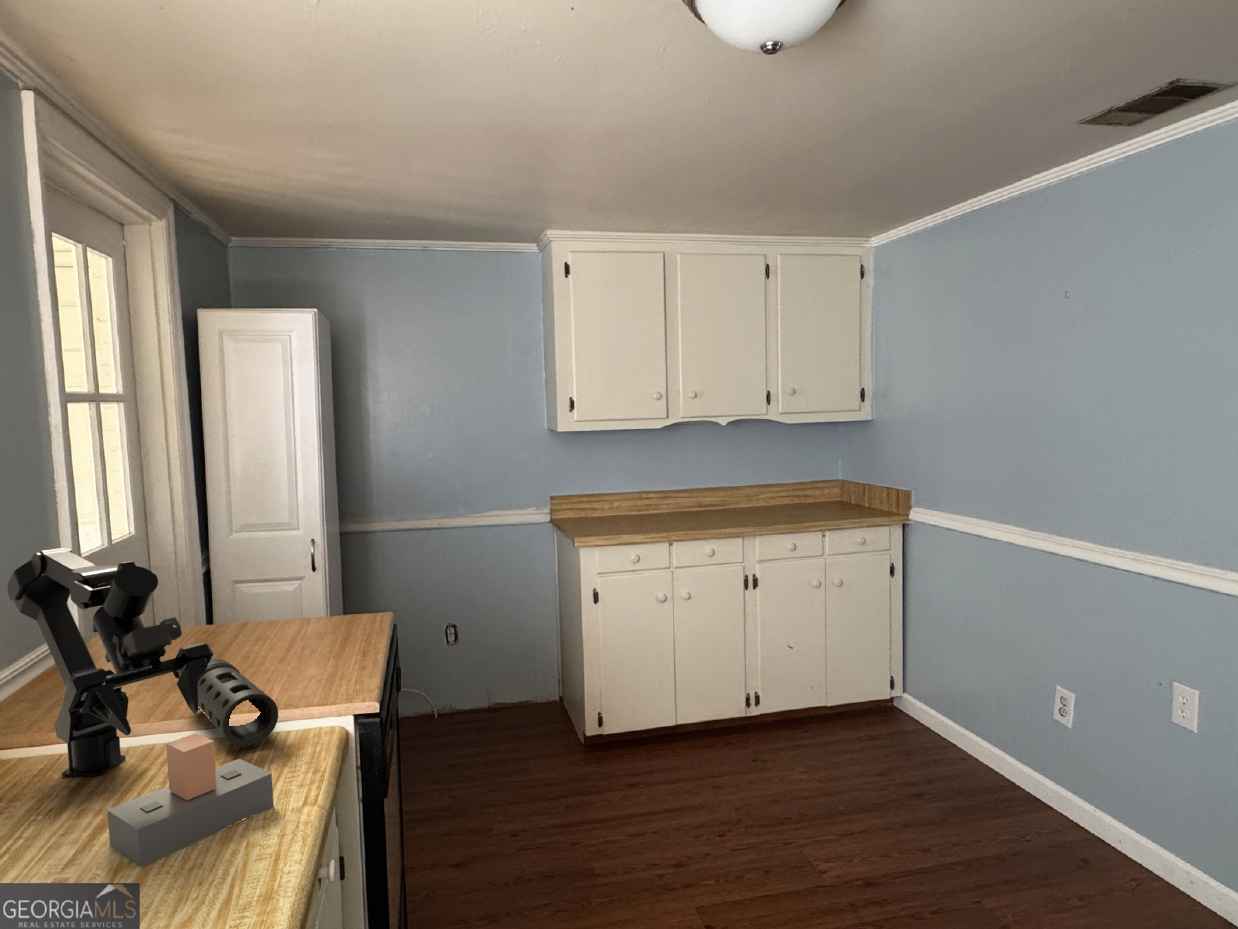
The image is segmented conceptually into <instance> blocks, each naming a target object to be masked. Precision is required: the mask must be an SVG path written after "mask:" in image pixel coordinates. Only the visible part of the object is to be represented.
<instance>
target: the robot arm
mask: <svg viewBox="0 0 1238 929" xmlns="http://www.w3.org/2000/svg"><path fill="white" fill-rule="evenodd" d="M158 585H159V579H158V576H157V575H156V573H154V572H153V571H151V570H150V569H148V568H145V567H143V566H137V565H136V563H135V561H133V560H131V561H130V560H129V561H124V562H123V561H122V562H118V565H114V564H113V565H110V564H109V565H96V564H94V563H93V562H90V561H88V560H86V559H85V558H83V557H81V556H79V555H77V554H75V553H74V552H73V551H72V549H71V548H66V547H58V548H52V549H45V550H44V549H43V550H39V551H38V552H35V553H33V555H32V557H31V559H30V560H28V561H27V562H26V563H24V564H22V565H20V566H19V567H17V568H16V569H14V571H13V572H12V574H11V576H10V579H9V580H8V582H7V594H8V597H9V599H10V600H11V601H12V602H14V604H15V606H16V608H17V609H18V611H19V613H21V614H23V615H25V616H27V617H29V618H30V619H32V620H34V621H36V623H37V624H38V627H39V629H40V631H41V633H42V635H43V638H44V640H45V643H46V645H47V647H48V649H49V652H50V655H51V656H52V659H53V661H54V663H55V665H56V668H57V670H58V672H59V674H60V677H61V678H62V680H63V684H64V686H65V691H64V694H63V697H62V701H61V704H60V708H61V709H60V710H59V714H58V715H57V717H56V719H55V722H54V730H55V733H56V735H55V736H56V738H58V739H60V740H62V741H64V742H65V743H66V744H67V747H66V748H67V758H68V759H67V760H68V768H67V769H65V770H63V771H62V772H61V776H63V777H81V776H82V777H83V776H84V777H89V776H90V777H93V776H94V777H95V776H96V777H98V776H101V775H103V774H104V773H106V772H107V771H109V770H110V769H112V768H114V767H115V766H116V765H118V764H119V763H121V762H123V760H125V759H126V755H124V754H121V744H120V743H121V742H120V740H121V739H120V736H119V735H118V731H119V732H120V733H122V735H125V736H129V735H130V734H132V729H131V727H130V723H129V720H128V719H127V718H128V711H129V710H128V709H129V708H128V707H129V697H128V695H127V693H126V692H125V690H124V689H122V687H123V686H128V685H130V684H134V683H137V682H141V681H145V680H149V679H153V678H156V677H160V676H163V675H166V674H171V673H173V676H174V678H175V679H178V680H177V682H176V686H177V687H178V690H179V692H180V694H181V695H182V697H183V698H184V699H183V700H184V701H185V703H186V704H187V707H188V708H189V710H190V711H191V712H192V713H193V714H197V713H198V712H199V710H198V709H199V708H198V677H199V676H200V674H202V673H204V671H205V669H206V667H207V665H208V664H209V662H210V660H211V659H213V657H214V652H213V649H212V648H211V645H209V644H208V643H206V642H198V643H194V644H190V645H186V646H183V647H180V648H179V650H178V652H177V654H176V655H175V657H174V658H171V659H167V660H163V661H161V660H162V659H161V658H162V657H165V654H166V653H167V650H166V649H165V648H166V647H167V646H170V645H172V644H173V642H172V641H175V640H178V639H179V638H180V637H182V634H183V631H182V628H181V625H180V623H179V621H178V619H177V617H176V616H173V617H169V618H164V619H162V621H159V624H155V625H150V626H145V623H144V622H143V620H142V617H141V616H142V615H143V614H144V613H145V612H146V611H147V609H148V608H149V606H150V605H149V604H150V603H151V600H152V598H153V596H154V594H155V592H156V590H157V588H158ZM69 598H70V600H71V601H72V603H73V604H74V605H75V606H77V608H79V609H80V610H82V611H84V610H90V609H95V608H98V609H97V610H96V611H95V613H94V614H93V617H92V622H93V624H92V632H93V633H98V636H99V638H100V640H101V642H102V645H103V647H104V650H105V651H106V653H105V656H104V658H105V660H106V662H107V663H111V665H112V668H113V670H114V671H113V670H112V669H104V668H102V667H100V668H98V667H97V666H96V664H95V662H94V659H93V657H92V656H91V652H90V651H89V648H88V646H87V644H86V642H85V640H84V638H83V635H82V633H81V631H80V629H79V627H78V625H77V623H76V620H75V618H74V616H73V614H72V612H71V610H70V608H69V605H68V601H69Z"/></svg>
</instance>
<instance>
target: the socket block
mask: <svg viewBox="0 0 1238 929" xmlns="http://www.w3.org/2000/svg"><path fill="white" fill-rule="evenodd" d="M215 773H216V789H214V790H211V791H209V792H206V793H204V794H201V795H199V796H197V797H194V798H192V799H189V800H185V799H183V798H182V797H180V796H178V795H176V794H174V793H172V792H171V791H169V785H168V786H166V787H162V788H161V789H158V790H156V791H153V792H151V793H150V792H149V793H148V794H144V795H143V796H139V797H138V798H134V799H132V800H129V801H126V802H124V803H122V804H119V805H117V806H114V807H112V808H109V809H107V826H108V827H107V828H108V839H109V846H110V848H112V849H113V848H114V849H113V850H115V851H116V852H118V853H119V854H121V855H122V856H123V857H125V858H126V859H128V860H129V861H130V862H132V863H134V864H135V865H136V866H138V867H139V868H140V869H141V868H142V867H144V866H147V865H149V864H151V863H154V862H156V861H157V860H159V859H163V858H165V857H167V856H168V855H170V854H173V853H176V852H177V851H180V850H183V849H184V848H187V847H188V845H189V846H191V845H192V844H195V843H198V842H200V841H202V840H203V838H204V839H206V838H208V837H210V836H213V835H214V833H215V834H217V833H218V831H219V832H221V831H223V830H225V829H224V828H226V827H228V826H230V825H232V826H234V825H236V824H237V823H236V822H238V821H241V820H242V819H244V818H247V819H249V818H248V817H250V816H252V815H254V816H255V814H256V815H258V814H260V813H262V811H263V812H265V811H267V810H269V809H271V808H274V793H273V774H272V772H269V771H267V770H265V769H263V768H261V767H258V766H256V765H255V764H252V763H249V762H248V761H245V760H243V759H241V758H238V759H235V760H232V761H230V762H228V763H225V764H222V765H219V766H217V767H215ZM252 817H253V816H252ZM250 818H251V817H250ZM241 822H242V821H241ZM235 823H236V824H235ZM233 824H234V825H233ZM230 827H231V826H230ZM228 828H229V827H228ZM222 829H223V830H222ZM226 829H227V828H226ZM220 830H221V831H220ZM216 832H217V833H216ZM209 835H210V836H209ZM207 836H208V837H207ZM201 839H202V840H201Z"/></svg>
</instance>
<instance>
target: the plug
mask: <svg viewBox="0 0 1238 929" xmlns="http://www.w3.org/2000/svg"><path fill="white" fill-rule="evenodd" d="M165 746H166V759H167V773H168V774H167V775H168V786H169V791H171V792H172V793H174V794H176V795H178V796H180V797H182V798H183V799H185V800H189V799H192V798H194V797H197V796H199V795H201V794H204V793H206V792H209V791H211V790H214V789H216V773H215V768H216V761H215V760H216V759H215V742H214V740H212V739H210V738H208V737H205V736H202V735H200V734H199V733H197V732H195V733H192V734H189V735H187V736H183V737H181V738H179V739H175V740H173V741H169V742H167V743H166V745H165Z"/></svg>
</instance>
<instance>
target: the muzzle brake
mask: <svg viewBox="0 0 1238 929" xmlns="http://www.w3.org/2000/svg"><path fill="white" fill-rule="evenodd" d="M246 700H249V702H251V703H252V705H254V706H255V707H256V708H258V710H259V711H260V712H261V713H260V715H259V716H258V717H257V719H255V720H254V721H252V722H250V723H247V724H245V725H240V726H229V719H230V715H231V713H232V711H233V710H234V709H235V707H236V706H237V705H239V704H240V703H242V702H243V701H246ZM198 706H199V707H200V708H201V709H202V710H203V712H205V714H206V715H207V716H208V717H209V719H210V720H211V721H210V720H209V719H208V720H209V721H210V723H211V722H212V723H213V724H212V723H211V724H212V725H213V726H214V727H215V728H216V729H217V730H218V731H219V733H220V734H222V736H223V737H225V739H226V740H227V741H228V742H230V743H231V744H233V745H235V746H238V747H245V748H246V750H247V751H249V750H253V749H256V748H257V744H259V743H261V742H262V741H264V740H266V738H268V737H269V736H270V735H271V734H272V733H273V731H274V729H275V728H276V726H277V723H278V720H279V709H278V708H279V707H278V706H277V703H276V702H275V700H274V699H273V698H272V697H270V696H269V695H268V694H267V693H265V692H264V691H263V690H262V689H260V688H259V687H258V686H256V685H255V684H254V683H253V682H252V681H251V680H249V679H248V678H247V677H246V676H244V675H243V674H241V672H240V671H239V670H238V669H237V667H235V666H234V665H233V664H232V663H231V662H229V661H227V660H225V659H222V658H211V660H210V662H209V664H208V665H207V667H206V669H205V671H204V673H202V674H200V676H199V677H198Z"/></svg>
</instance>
